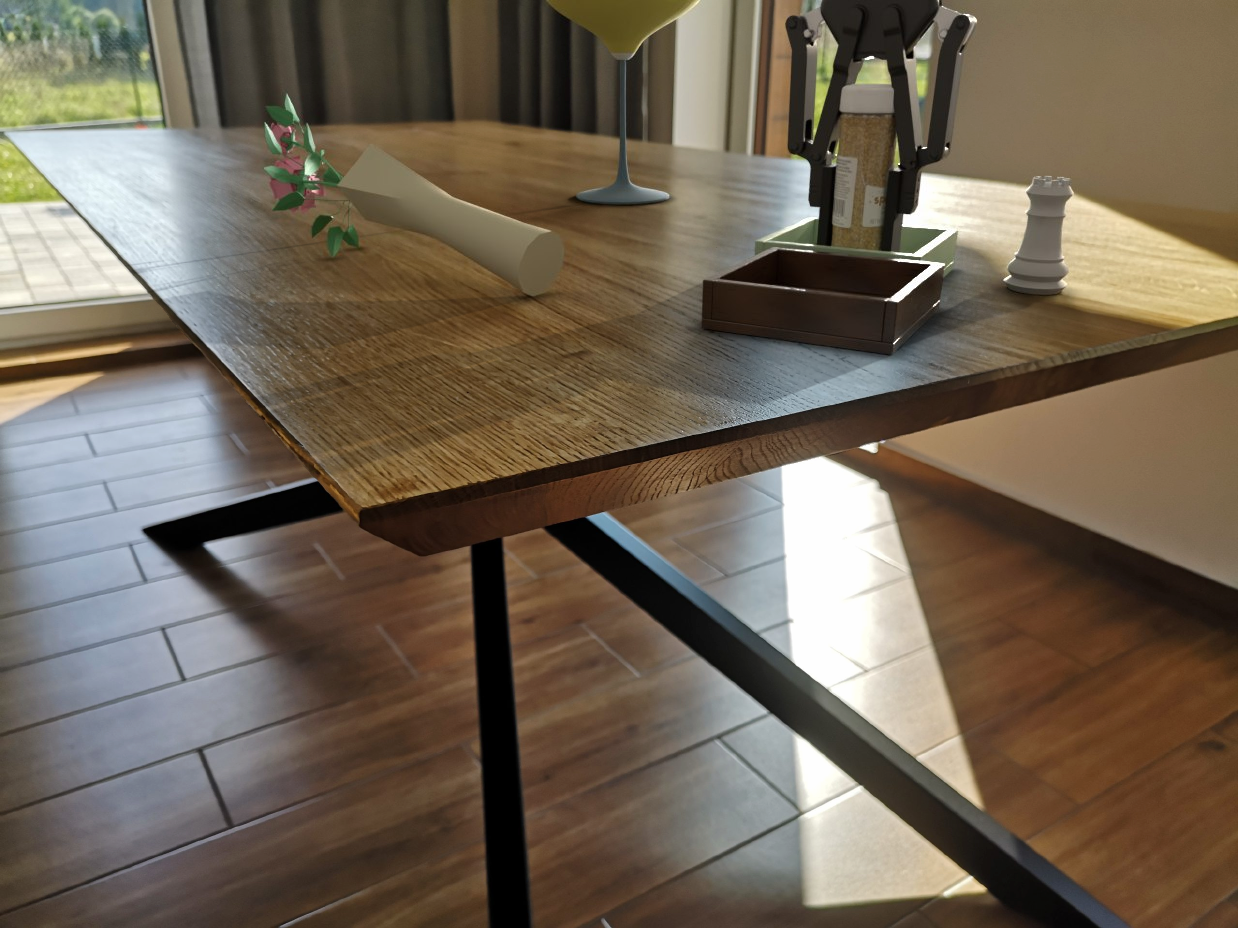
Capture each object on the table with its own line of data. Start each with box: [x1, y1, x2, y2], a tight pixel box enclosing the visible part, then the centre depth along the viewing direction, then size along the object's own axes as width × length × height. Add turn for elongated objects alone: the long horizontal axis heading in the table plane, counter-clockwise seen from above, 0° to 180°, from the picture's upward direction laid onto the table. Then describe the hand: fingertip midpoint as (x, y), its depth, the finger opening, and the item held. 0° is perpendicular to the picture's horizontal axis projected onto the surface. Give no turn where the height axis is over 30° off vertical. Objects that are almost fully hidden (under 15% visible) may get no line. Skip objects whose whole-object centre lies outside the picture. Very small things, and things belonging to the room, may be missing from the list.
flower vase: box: [262, 93, 566, 297], centre depth 84 cm, size 12×12×35 cm
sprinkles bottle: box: [831, 83, 897, 251], centre depth 78 cm, size 5×5×14 cm
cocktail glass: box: [545, 0, 701, 206], centre depth 115 cm, size 18×18×25 cm
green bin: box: [754, 216, 959, 278], centre depth 80 cm, size 12×12×3 cm
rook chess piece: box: [1003, 175, 1075, 296], centre depth 75 cm, size 4×4×8 cm
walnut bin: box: [701, 247, 945, 356], centre depth 68 cm, size 12×12×3 cm
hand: (857, 252), depth 80 cm, fingers closed on sprinkles bottle, 4 cm apart
